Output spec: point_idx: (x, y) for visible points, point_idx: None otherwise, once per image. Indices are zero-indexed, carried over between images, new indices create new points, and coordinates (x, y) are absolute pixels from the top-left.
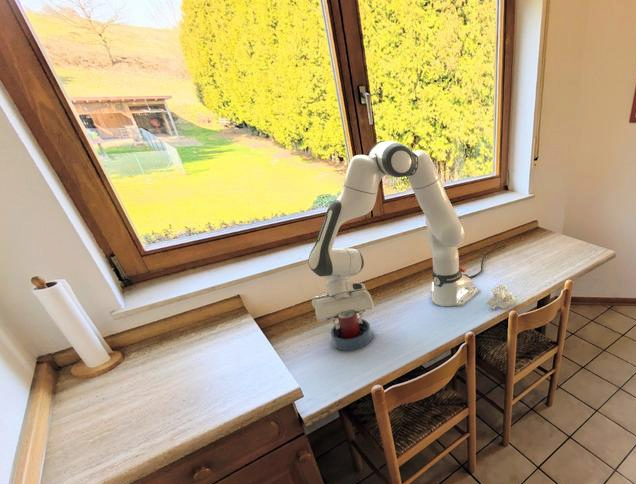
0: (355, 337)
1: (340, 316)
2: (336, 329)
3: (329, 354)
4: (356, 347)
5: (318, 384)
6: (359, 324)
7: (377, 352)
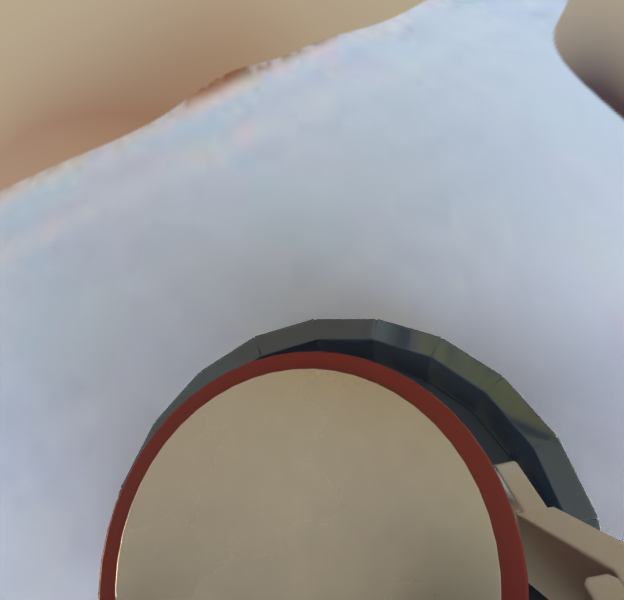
0: (282, 344)
1: (435, 460)
2: (510, 464)
3: (538, 361)
4: None
5: (528, 92)
6: None
7: (173, 297)
